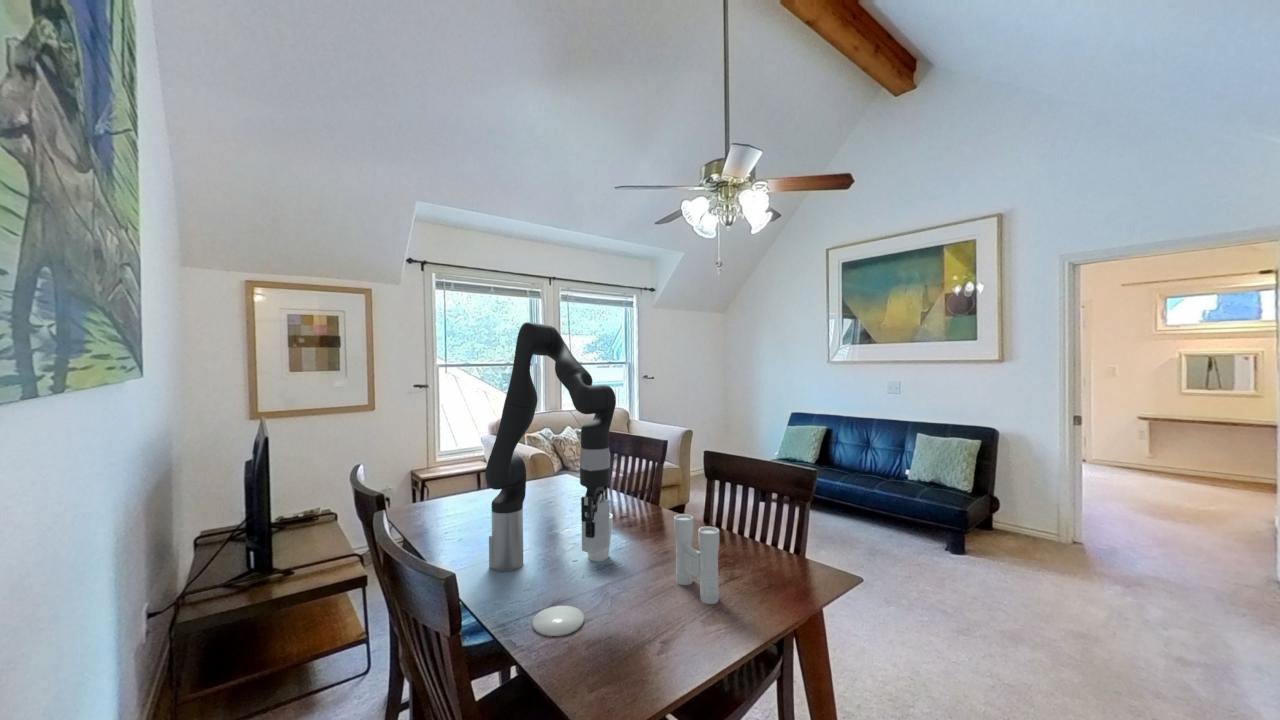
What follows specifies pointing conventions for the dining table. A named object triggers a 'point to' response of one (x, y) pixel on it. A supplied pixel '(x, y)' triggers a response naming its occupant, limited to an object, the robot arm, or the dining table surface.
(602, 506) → the skincare box
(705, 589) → the binoculars
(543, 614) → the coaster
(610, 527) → the foam cup
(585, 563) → the dining table surface
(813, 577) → the dining table surface
